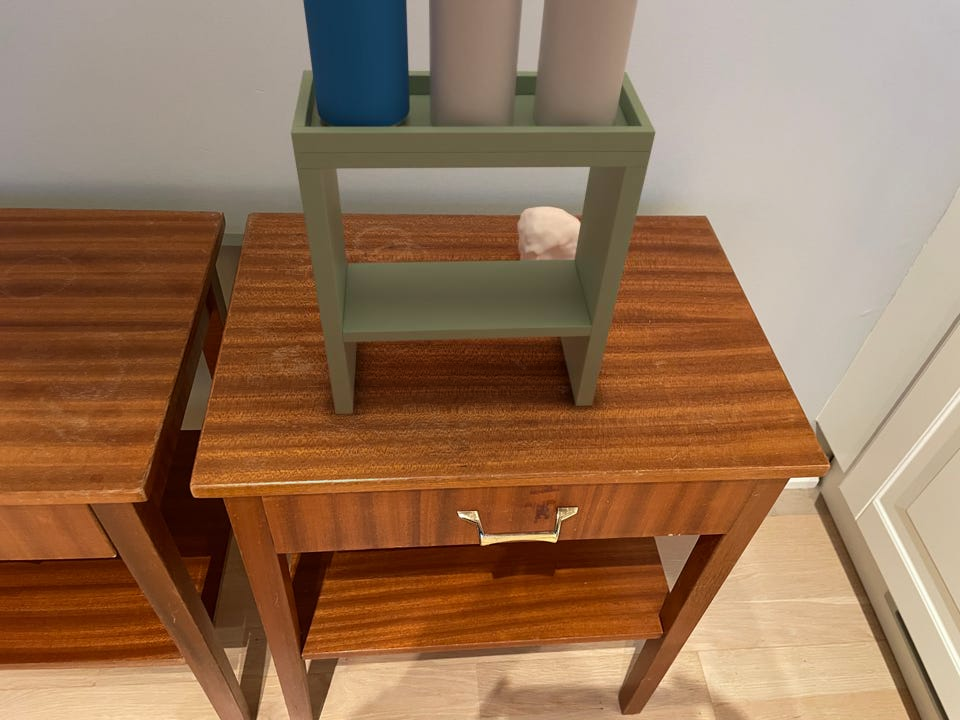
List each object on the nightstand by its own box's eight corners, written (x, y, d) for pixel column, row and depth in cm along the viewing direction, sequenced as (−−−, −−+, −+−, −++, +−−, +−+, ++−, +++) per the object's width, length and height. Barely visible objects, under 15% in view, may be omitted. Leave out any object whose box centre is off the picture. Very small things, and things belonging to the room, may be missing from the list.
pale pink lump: (518, 193, 79) (622, 198, 81) (505, 255, 85) (603, 259, 87) (528, 227, 75) (638, 232, 77) (514, 290, 81) (616, 293, 83)
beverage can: (428, 123, 52) (426, -64, 43) (352, 152, 49) (334, -44, 40) (375, 89, 55) (363, -91, 47) (301, 114, 52) (273, -74, 43)
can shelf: (296, 169, 49) (262, -44, 40) (308, 104, 56) (281, -93, 46) (647, 166, 51) (695, -36, 42) (620, 104, 58) (655, -84, 48)
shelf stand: (335, 414, 68) (296, 169, 49) (340, 345, 74) (308, 104, 56) (591, 405, 70) (647, 166, 51) (575, 338, 76) (620, 104, 58)
